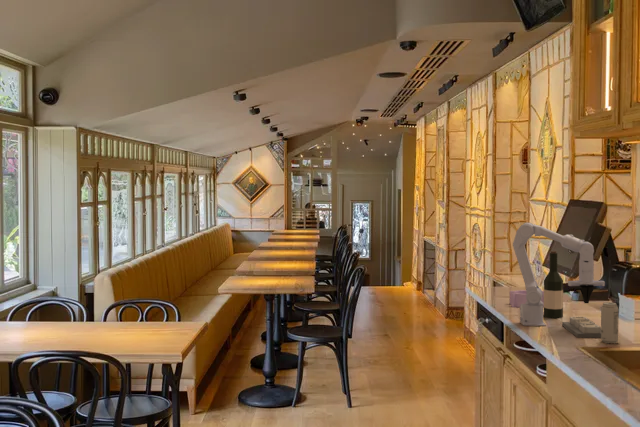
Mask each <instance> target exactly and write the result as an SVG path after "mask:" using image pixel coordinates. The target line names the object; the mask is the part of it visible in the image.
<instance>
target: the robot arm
mask: <svg viewBox="0 0 640 427" xmlns="http://www.w3.org/2000/svg"><path fill="white" fill-rule="evenodd" d="M533 236H534V237H541V236H542V237H545V238H547V239H549V240H553V241H555V242H558V243H559V244H560V245H561V247H562V248H564V249H567V250H569V251H571V252H575V253H579V260H578V280H568V281H567V286H569V287H578V289H579V291H580V292H581V296H582V299H583V300H582V301H583V303H584V304H589V302H590V299H591V296H592V294H593V292H594V290H595V287H596V286H597V287H605V286H606V282H605V281H604V280H595V279H594V276H595V274H594V271H595V269H594V253H595V249H594V248H595V247H594V245H593V244H592V243H591V242H589V241H585V239H580V238H577V237H575V236H574V235H573V234H569V233H568V234H565V235H562V234H560V233H557V232H555V231H553V230H551V229H549V228H546V227H544V226H541V225H538V224H536V223H534V224H533V223H531V222H524V223H523V224H521V225H520V226H519V227H518V228H517V230H516V232H515V236H514V239H513V242H512V247H513V250H514V253H515V256H516V261H517V263H518V266H519V269H520V272H521V277H522V279H523V282H524V287H525V290H526V292H527V294H526V299H527V301H526V304H521V305H520V308H519V317H520V318H519V323H521V325H522V326H536V327H537V326H538V327H539V326H540V327H541V326H542V327H543V326H546V325H547V324H546V323H545V322H544V308H543V302H542V301H541V298H542V296H543V292H542V291H543V290H542V289H541V288H540V287H539V284H538V282H537V280H536V278H535V274H534V271H533V268H532V264H531V262H530V259H529V258H530V257H529V255H528V253H527V252H528V251H527V250H526V249H527V248H526V244H527V242H528V241H529V240H530V238H532V237H533Z"/></svg>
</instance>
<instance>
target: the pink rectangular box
mask: <svg viewBox="0 0 640 427" xmlns="http://www.w3.org/2000/svg"><path fill="white" fill-rule="evenodd" d="M542 292H543V296H542V298H541V301H542V302H543V309H544V290H542ZM526 294H527V292H526V289H521V290H509V306H511V308H519V309H520V305H521V304H526V301H527V299H526Z"/></svg>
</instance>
